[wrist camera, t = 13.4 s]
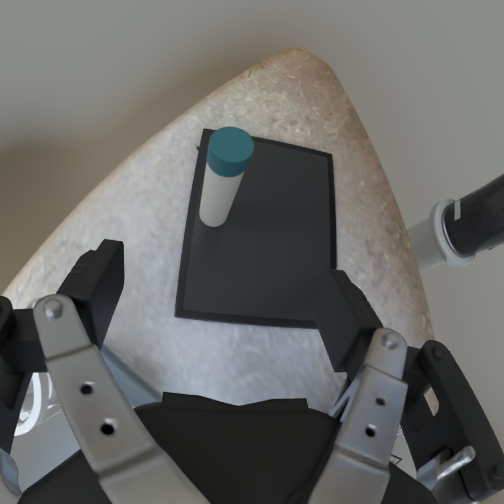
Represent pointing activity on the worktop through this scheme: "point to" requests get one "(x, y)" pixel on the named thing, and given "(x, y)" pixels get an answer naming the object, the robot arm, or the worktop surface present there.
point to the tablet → (261, 241)
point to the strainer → (38, 403)
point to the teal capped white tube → (224, 172)
